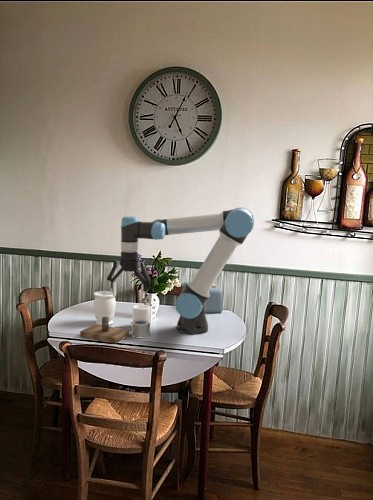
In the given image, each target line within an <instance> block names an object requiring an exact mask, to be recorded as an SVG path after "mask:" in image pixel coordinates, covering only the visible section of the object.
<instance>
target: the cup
mask: <svg viewBox="0 0 373 500" xmlns="http://www.w3.org/2000/svg"><path fill="white" fill-rule="evenodd" d="M151 309H152V308H151V305H148V304H136V305H133V306H132V321H134V320H146V321H149V322H150V323H151Z"/></svg>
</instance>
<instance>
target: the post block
mask: <svg viewBox="0 0 373 500" xmlns="http://www.w3.org/2000/svg"><path fill="white" fill-rule="evenodd" d="M128 335H129V336H130V329H124V328H119V327H114V326H110V325H109V317H102V325H98V324H96V323H94V324H91V325H89V327H86V328H84V329H81V330H80V331H79V336H80V338H85V339H89V340H96V341H100V342H105V343H111V344H117V343H119V342H121V341H123V340H124V339H125V338H124V337H126V336H128ZM129 336H128V337H129ZM123 338H124V339H123ZM126 338H127V337H126ZM122 339H123V340H122Z"/></svg>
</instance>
